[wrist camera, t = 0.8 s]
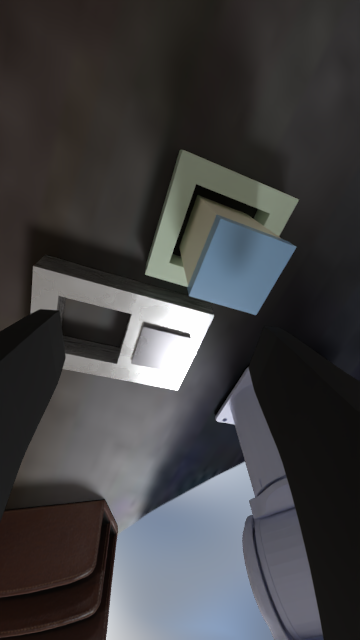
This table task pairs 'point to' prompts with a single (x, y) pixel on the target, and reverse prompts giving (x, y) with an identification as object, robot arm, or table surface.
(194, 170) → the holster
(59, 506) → the letter holder
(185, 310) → the panel
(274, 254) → the plug
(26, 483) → the table surface
